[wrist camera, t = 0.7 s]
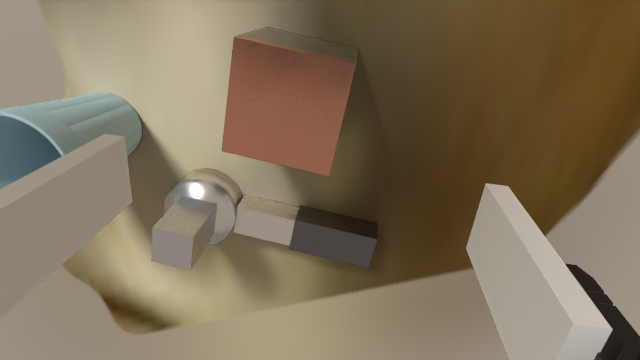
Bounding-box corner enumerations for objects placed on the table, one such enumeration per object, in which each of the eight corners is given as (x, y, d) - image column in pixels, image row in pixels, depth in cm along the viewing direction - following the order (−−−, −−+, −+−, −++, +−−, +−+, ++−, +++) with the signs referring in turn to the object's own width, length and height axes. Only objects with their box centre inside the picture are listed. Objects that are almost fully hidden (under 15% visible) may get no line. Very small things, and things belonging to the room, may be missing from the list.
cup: (53, 84, 33) (-70, 120, 24) (137, 72, 32) (42, 103, 23) (88, 168, 36) (-9, 229, 27) (166, 159, 35) (93, 219, 26)
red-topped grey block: (254, 116, 33) (221, 151, 25) (266, 27, 30) (233, 36, 22) (338, 136, 33) (329, 176, 25) (359, 48, 30) (356, 65, 22)
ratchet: (381, 209, 35) (384, 264, 28) (364, 263, 37) (363, 327, 30) (180, 161, 35) (132, 204, 28) (177, 219, 38) (131, 271, 30)
